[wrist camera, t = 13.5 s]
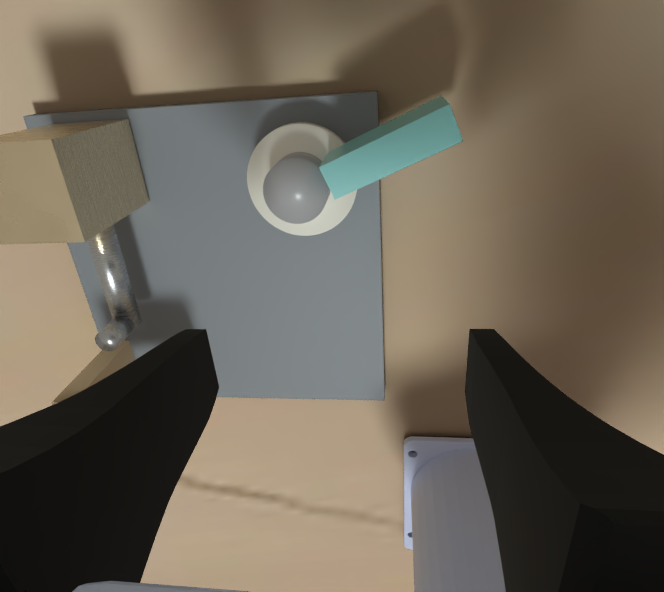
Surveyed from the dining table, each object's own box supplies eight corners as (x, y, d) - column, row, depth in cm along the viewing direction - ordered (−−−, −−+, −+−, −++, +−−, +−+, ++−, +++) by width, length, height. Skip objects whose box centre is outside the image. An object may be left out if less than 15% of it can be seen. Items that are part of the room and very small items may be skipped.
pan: (424, 50, 16) (430, 50, 14) (466, 165, 18) (480, 187, 15) (230, 152, 19) (202, 170, 16) (283, 246, 21) (266, 277, 18)
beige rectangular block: (177, 313, 24) (128, 373, 19) (113, 313, 24) (50, 372, 20) (128, 119, 19) (51, 139, 15) (51, 123, 20) (-46, 145, 16)
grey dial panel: (384, 390, 26) (382, 476, 20) (127, 386, 28) (66, 462, 22) (377, 90, 19) (371, 106, 14) (35, 113, 21) (-81, 135, 16)
